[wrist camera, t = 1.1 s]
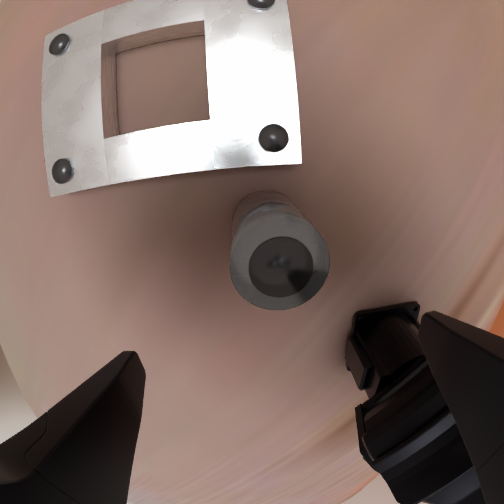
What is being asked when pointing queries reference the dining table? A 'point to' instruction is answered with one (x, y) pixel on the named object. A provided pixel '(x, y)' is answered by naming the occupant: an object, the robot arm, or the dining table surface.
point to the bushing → (276, 253)
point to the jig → (180, 135)
